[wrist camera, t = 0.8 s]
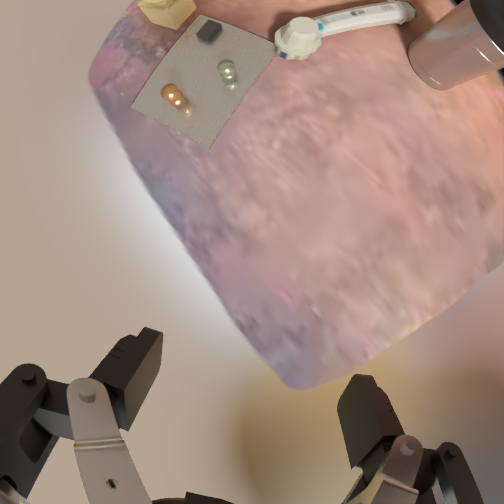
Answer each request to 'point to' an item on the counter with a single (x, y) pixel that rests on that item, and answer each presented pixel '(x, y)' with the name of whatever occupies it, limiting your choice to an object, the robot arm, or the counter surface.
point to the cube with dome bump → (167, 11)
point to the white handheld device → (337, 26)
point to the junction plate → (204, 78)
